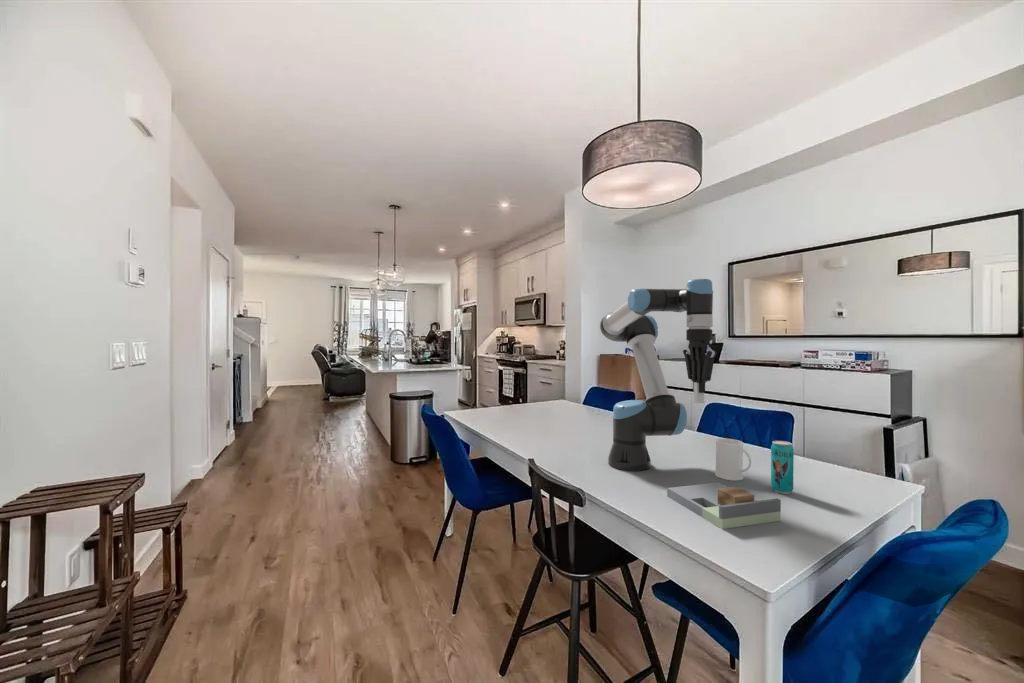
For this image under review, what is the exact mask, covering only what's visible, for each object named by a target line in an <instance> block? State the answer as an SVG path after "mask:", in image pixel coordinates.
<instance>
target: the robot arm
mask: <svg viewBox="0 0 1024 683" xmlns="http://www.w3.org/2000/svg"><path fill="white" fill-rule="evenodd" d="M713 299H714V290H713V281H712V280H711V279H708V278H694V279H690V280H688V281H687V282H686V287H685V288H679V289H677V288H673V289H672V288H643V287H642V288H633V289H631V290H630V291H629V293H628V296H627V301H626V302H625V303H623V304H622V305H621V306H620V307H619V308H617V309H616V310H614V312H613V311H612V312H609V313H607V314H605V315H604V316H603V317H602V319H601V321H600V323H599V328H600V332H601V334H602V335H603V336H604V337H605V338H606V339H607V340H610V341H612V342H618V343H619V342H620V343H621V342H624V343H625V342H626V344H627V345H626V346H627V348H628V349H629V350H631V351H632V352H633V357H634V359H635V362H636V363H635V364H636V367H637V370H638V373H639V376H640V377H639V378H640V381H641V384H642V388H643V391H644V394H645V400H642V399H630V400H623V401H619V402H616V403H615V404H614V405H613V409H612V410H613V412H612V445H611V448H610V451H609V453H608V458H607V463H608V465H609V466H610V467H612V468H615V469H618V470H623V471H633V472H635V471H645V470H648V469H650V468H651V467H652V465H651V463H652V462H651V461H652V460H651V458H650V457H651V456H650V454H649V451H648V448H647V443H646V442H647V441H646V438H647V437H651V436H652V437H656V436H657V437H659V436H669V437H670V436H677V435H681V434H683V432H684V431H685V428H686V426H687V422H688V412H687V409H686V407H685V405H683V403H681V402H677V400H676V398H675V396H674V395H673V394H671V393H670V392H669V389H668V386H667V383H666V379H665V377H664V374H663V371H662V368H661V364H660V361H659V358H658V355H657V352H656V348H655V346H654V344H655V343H656V340H657V338H658V336H659V331H658V329H659V327H658V323H657V322H656V320H655V318H654V317H653V316H651V315H649V313H650V312H674V313H683V312H686V328H688V329H686V339H685V340H686V341H688V345H687V346H688V348H686V349H683V350H682V352H683V355H684V359H685V360H684V361H685V366H686V373H687V378H688V380H691V381H692V391H693V404H694V403H695V404H705V393H706V383H707V382H710V381H711V380H712V373H713V369H714V363H715V359H716V356H717V354H718V352H717V351H716V350H713V349H712V346H711V344H710V343H711V341H713V329H712V328H713V326H714V324H713V323H714V322H713V308H714V307H713V304H714V301H713Z"/></svg>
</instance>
